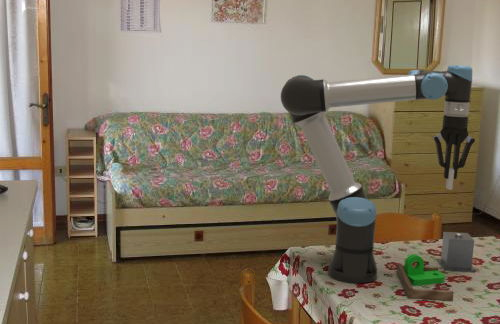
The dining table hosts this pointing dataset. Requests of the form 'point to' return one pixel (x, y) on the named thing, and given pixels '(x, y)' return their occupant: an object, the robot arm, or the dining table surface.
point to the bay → (422, 292)
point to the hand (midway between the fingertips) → (449, 188)
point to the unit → (457, 252)
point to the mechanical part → (421, 272)
